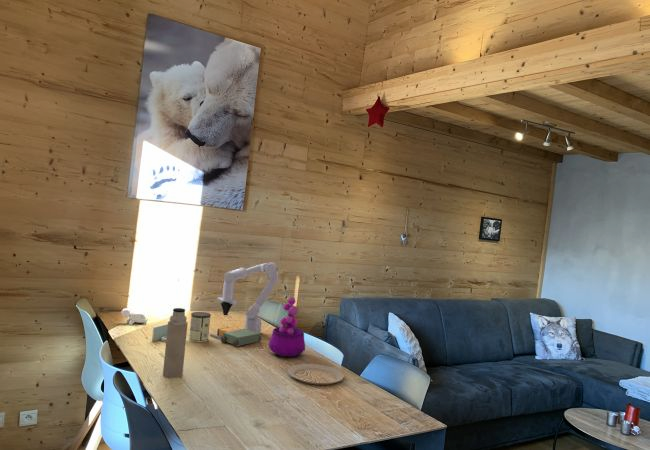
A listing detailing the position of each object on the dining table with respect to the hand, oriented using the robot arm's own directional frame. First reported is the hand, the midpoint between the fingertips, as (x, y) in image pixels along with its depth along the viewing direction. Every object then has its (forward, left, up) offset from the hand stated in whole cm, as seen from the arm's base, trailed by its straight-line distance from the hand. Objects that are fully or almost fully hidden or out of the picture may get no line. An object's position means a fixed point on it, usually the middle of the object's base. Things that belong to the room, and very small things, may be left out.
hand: (225, 314), depth 284 cm
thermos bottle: (+69, +43, -10) cm, 82 cm away
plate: (+21, +83, -10) cm, 86 cm away
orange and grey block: (+9, +13, -9) cm, 18 cm away
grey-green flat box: (+9, +17, -9) cm, 21 cm away
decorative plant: (+6, +53, -10) cm, 54 cm away
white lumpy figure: (+33, -40, -10) cm, 53 cm away
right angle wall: (+39, 0, -10) cm, 40 cm away
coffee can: (+25, +7, -10) cm, 28 cm away
